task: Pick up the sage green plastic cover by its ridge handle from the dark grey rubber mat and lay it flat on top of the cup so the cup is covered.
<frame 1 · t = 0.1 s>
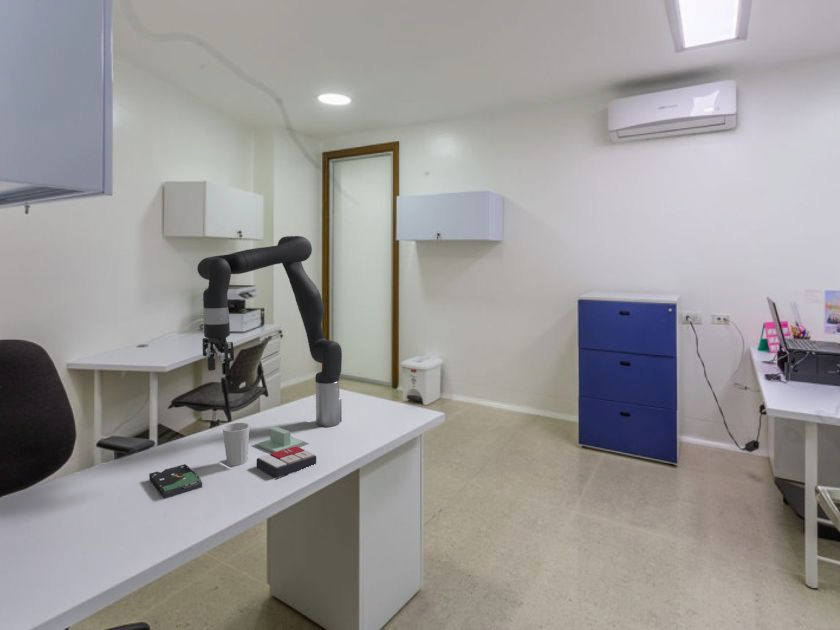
hand: (218, 372, 153), 29 cm above the table, tool pointing down, fingers open, 8 cm apart
calculator: (286, 468, 152), on the table
cover: (280, 444, 168), resting on mat
mat: (280, 446, 168), on the table
disk drive: (175, 486, 140), on the table
cup: (237, 463, 154), on the table
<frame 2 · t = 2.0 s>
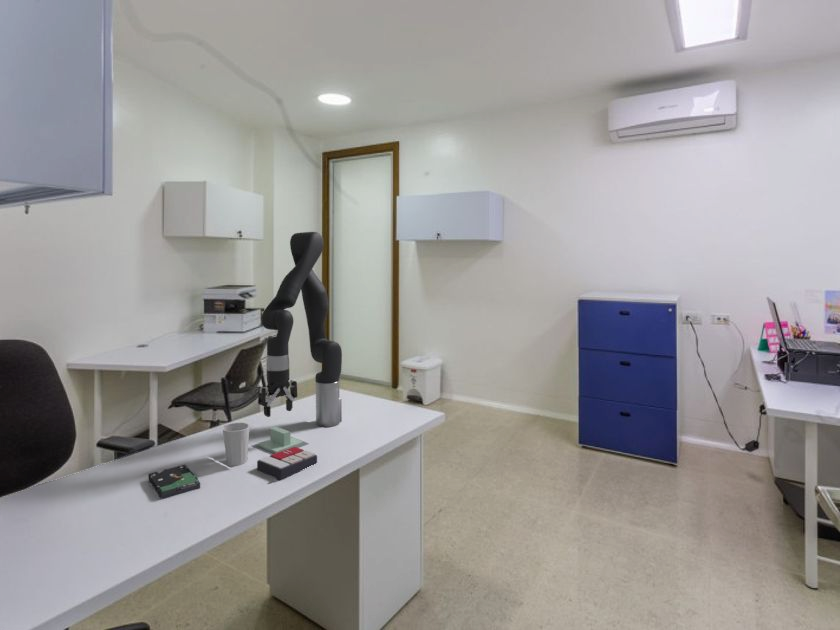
hand: (278, 413, 167), 12 cm above the table, tool pointing down, fingers open, 8 cm apart
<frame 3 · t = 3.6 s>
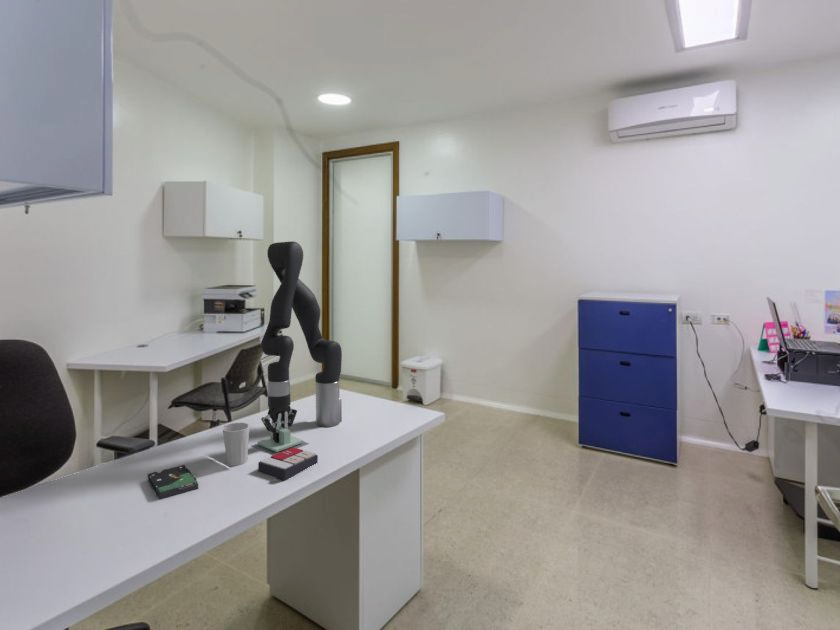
hand: (280, 440, 168), 2 cm above the table, tool pointing down, fingers closed on cover
cover: (280, 443, 168), point 1 cm above the table, touching gripper
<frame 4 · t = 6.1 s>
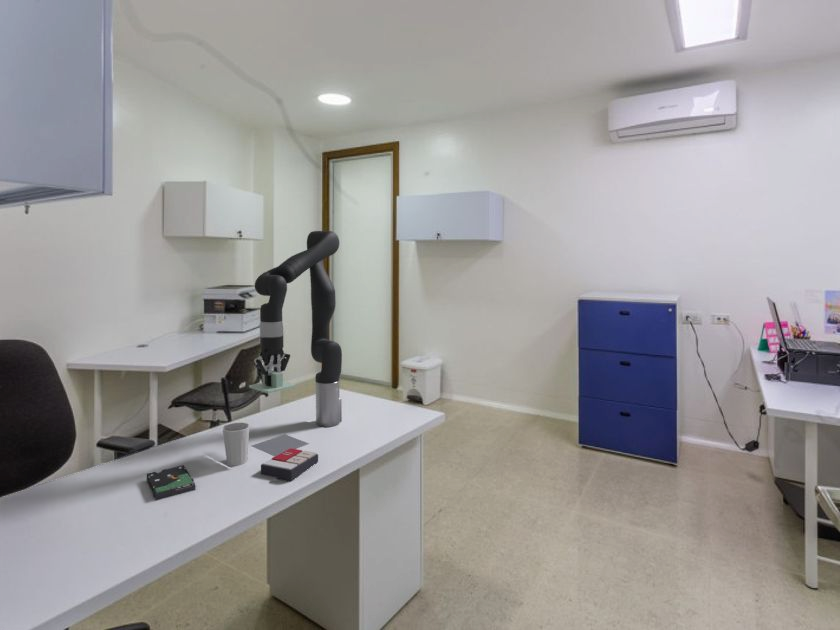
hand: (272, 384, 163), 23 cm above the table, tool pointing down, fingers closed on cover, 2 cm apart
cover: (272, 387, 164), point 22 cm above the table, touching gripper
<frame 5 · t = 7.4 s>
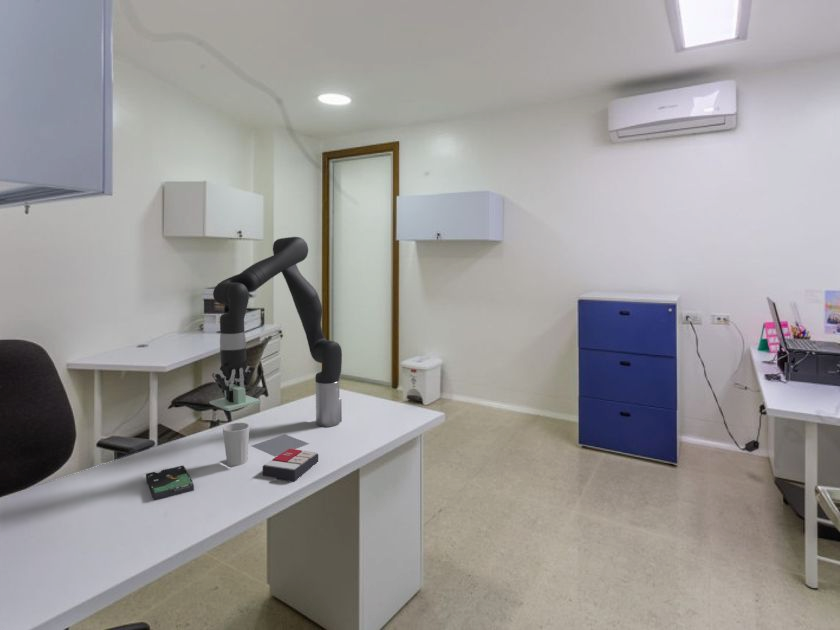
hand: (235, 400, 152), 21 cm above the table, tool pointing down, fingers closed on cover, 2 cm apart
cover: (235, 403, 152), point 20 cm above the table, touching gripper
when the fingers open (15 cm above the table, at t = 8.5 s): cover drops 2 cm, resting on cup.
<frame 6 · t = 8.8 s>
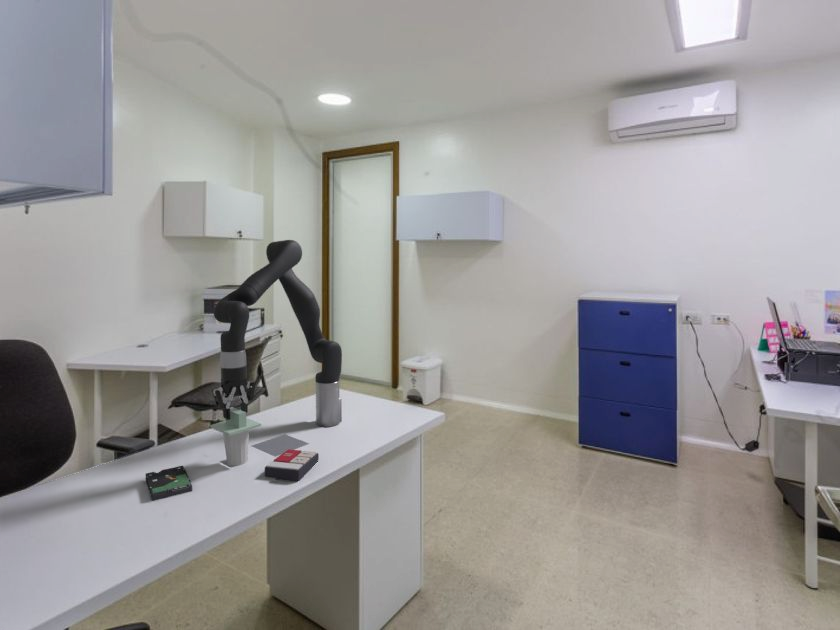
hand: (235, 416, 153), 15 cm above the table, tool pointing down, fingers open, 5 cm apart
cover: (236, 426, 153), point 12 cm above the table, touching cup
cup: (237, 463, 154), on the table, touching cover
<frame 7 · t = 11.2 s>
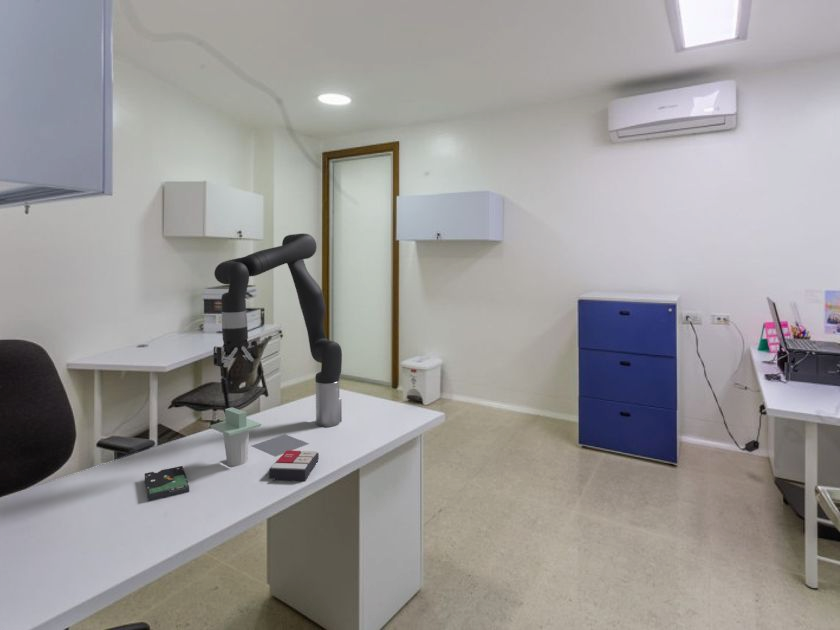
hand: (237, 375, 155), 28 cm above the table, tool pointing down, fingers open, 8 cm apart
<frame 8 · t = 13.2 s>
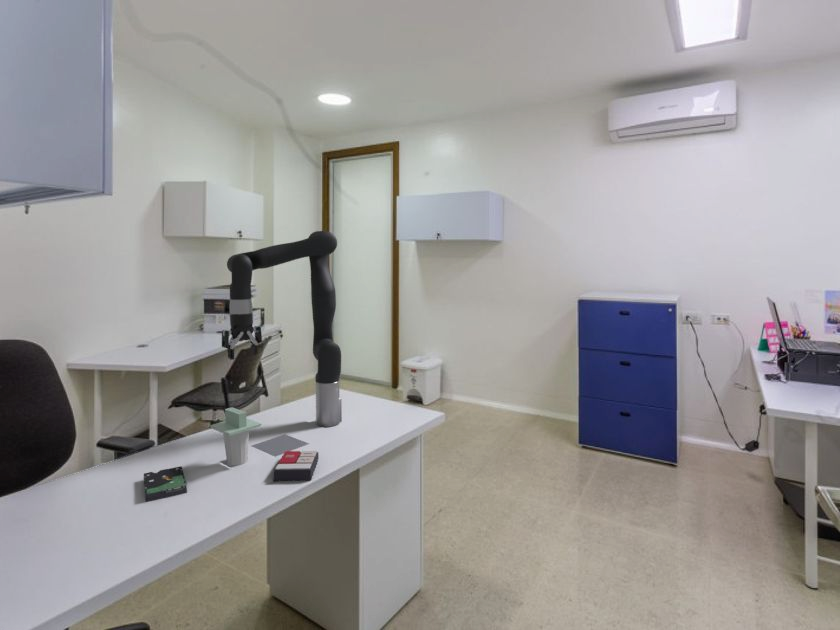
hand: (242, 357, 171), 30 cm above the table, tool pointing down, fingers open, 8 cm apart
at the end: cover 0.0 cm from the cup (horizontally); cover point 12.0 cm above the table; cup tilted 0° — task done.
